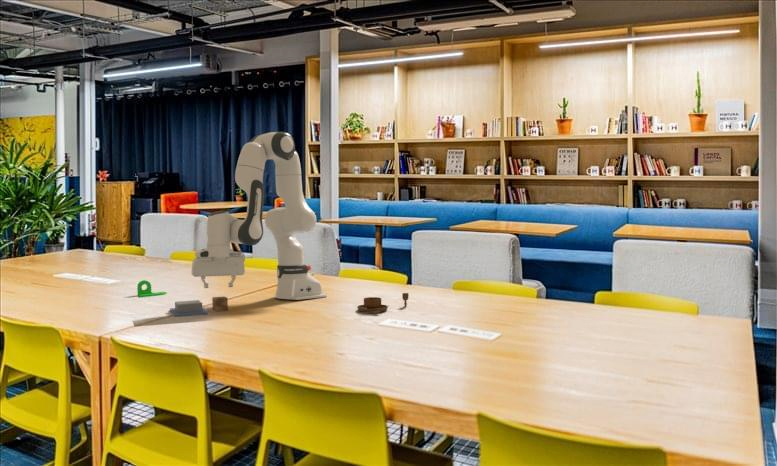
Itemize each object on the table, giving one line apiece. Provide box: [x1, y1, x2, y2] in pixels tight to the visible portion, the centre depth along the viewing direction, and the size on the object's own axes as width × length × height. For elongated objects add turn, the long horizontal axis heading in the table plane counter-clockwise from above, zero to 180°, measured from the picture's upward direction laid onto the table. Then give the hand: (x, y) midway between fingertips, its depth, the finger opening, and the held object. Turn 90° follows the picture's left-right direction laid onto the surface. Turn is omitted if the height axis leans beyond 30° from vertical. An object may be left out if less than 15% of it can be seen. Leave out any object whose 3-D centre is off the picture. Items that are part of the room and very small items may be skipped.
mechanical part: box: [136, 280, 168, 298], centre depth 299 cm, size 12×6×8 cm, turn 124°
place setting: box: [356, 292, 409, 314], centre depth 260 cm, size 18×20×6 cm
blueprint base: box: [169, 299, 209, 317], centre depth 257 cm, size 12×16×4 cm
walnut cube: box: [211, 296, 229, 312], centre depth 262 cm, size 5×5×5 cm
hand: (218, 287), depth 261 cm, fingers open, 8 cm apart
